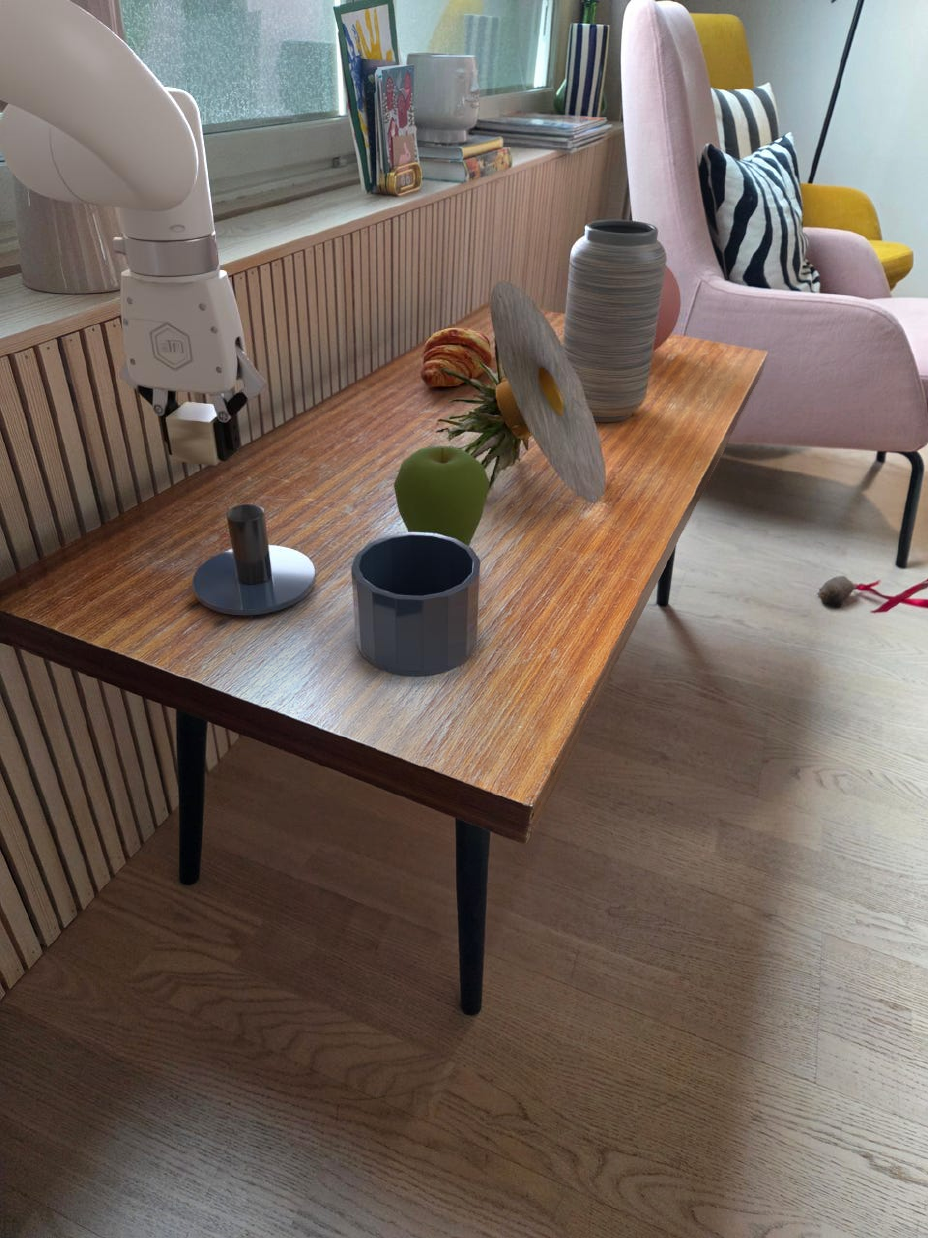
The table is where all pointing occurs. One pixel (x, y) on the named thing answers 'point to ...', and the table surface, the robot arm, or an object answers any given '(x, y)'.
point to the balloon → (667, 309)
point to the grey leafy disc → (531, 399)
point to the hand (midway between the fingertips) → (203, 450)
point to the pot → (416, 602)
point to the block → (193, 434)
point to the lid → (252, 570)
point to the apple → (442, 492)
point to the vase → (614, 314)
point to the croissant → (455, 356)
